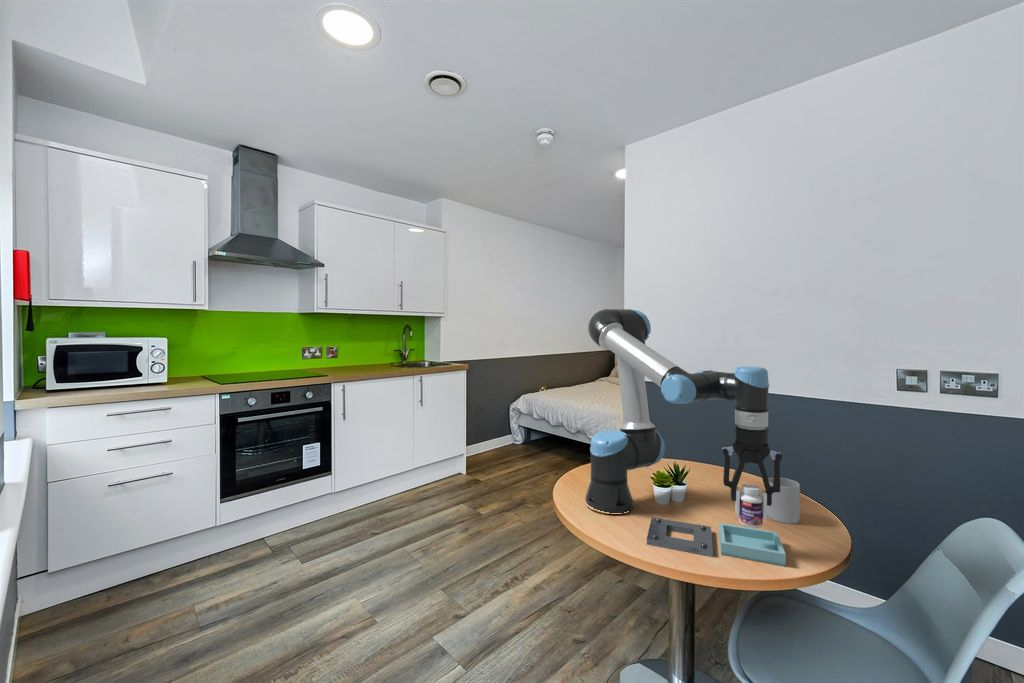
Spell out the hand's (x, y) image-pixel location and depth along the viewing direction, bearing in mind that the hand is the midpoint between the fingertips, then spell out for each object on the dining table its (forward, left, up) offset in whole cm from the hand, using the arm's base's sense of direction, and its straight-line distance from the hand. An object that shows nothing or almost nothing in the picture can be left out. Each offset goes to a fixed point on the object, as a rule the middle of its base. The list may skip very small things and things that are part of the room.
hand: (750, 514), depth 110 cm
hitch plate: (-17, -1, -9) cm, 19 cm away
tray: (0, 0, -9) cm, 9 cm away
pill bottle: (0, 0, -3) cm, 3 cm away
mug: (+11, +26, -9) cm, 30 cm away
